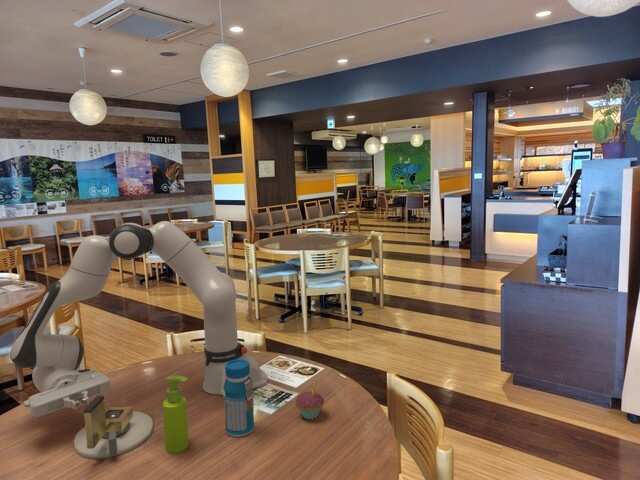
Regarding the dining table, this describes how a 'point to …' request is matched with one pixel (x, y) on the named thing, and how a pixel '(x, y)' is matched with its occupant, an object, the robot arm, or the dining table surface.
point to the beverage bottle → (238, 398)
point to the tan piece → (103, 420)
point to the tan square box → (115, 416)
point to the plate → (117, 439)
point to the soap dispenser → (175, 417)
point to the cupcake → (309, 403)
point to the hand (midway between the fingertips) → (81, 403)
